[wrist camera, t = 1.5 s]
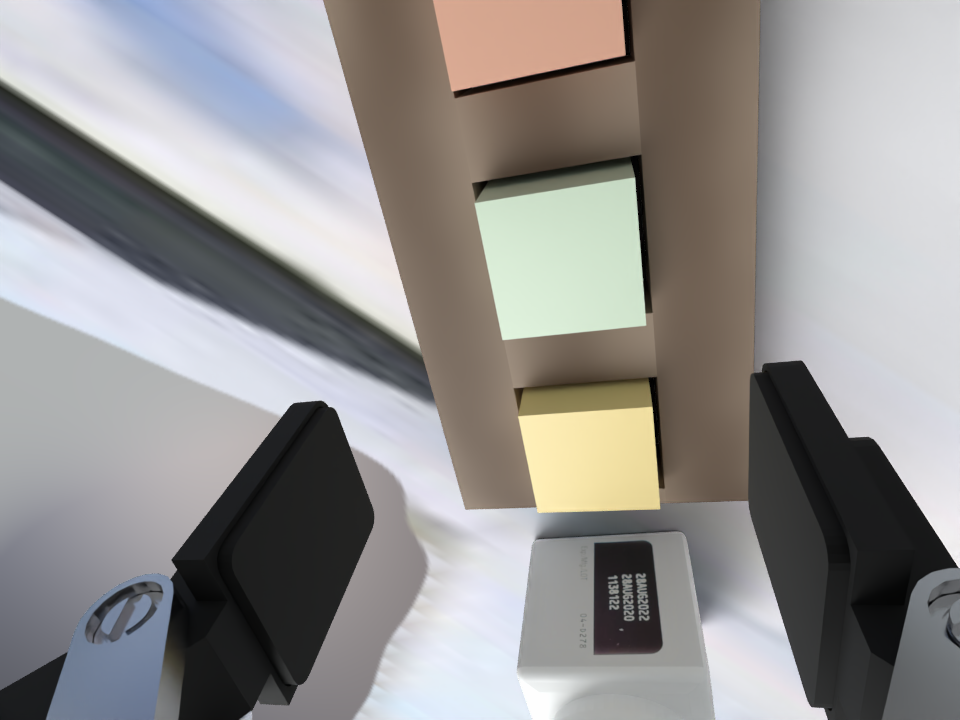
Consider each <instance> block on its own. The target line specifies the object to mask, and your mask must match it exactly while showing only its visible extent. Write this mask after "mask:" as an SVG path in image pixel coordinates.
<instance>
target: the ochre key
mask: <svg viewBox="0 0 960 720" xmlns="http://www.w3.org/2000/svg"><path fill="white" fill-rule="evenodd" d="M518 418H519V423H520V428H521V433H522V438H523V443H524V448H525V452H526V457H527V462H528V467H529V472H530V477H531V482H532V487H533V492H534V496H535V501H536V506H537V511H538V513H550V512H584V511H618V510H652V509H660V498H659V485H658V472H657V459H656V446H655V433H654V420H653V407H652V400H651V393H650V386H649V379H648V377H647V378H634V379H622V380H610V381H597V382H585V383H573V384H560V385H548V386H536V387H524V388H523V394H522V399H521V404H520V409H519V414H518Z"/></svg>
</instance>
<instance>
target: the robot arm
mask: <svg viewBox="0 0 960 720" xmlns="http://www.w3.org/2000/svg"><path fill="white" fill-rule="evenodd" d="M748 501H749V509H750V515H751V518H752V522H753V525H754V528H755V532H756V535H757V538H758V541H759V545H760V548H761V551H762V554H763V558H764V561H765V564H766V567H767V571H768V574H769V577H770V580H771V584H772V587H773V590H774V593H775V597H776V600H777V603H778V606H779V610H780V613H781V616H782V619H783V623H784V626H785V629H786V632H787V636H788V639H789V642H790V645H791V649H792V652H793V655H794V658H795V662H796V665H797V668H798V671H799V675H800V678H801V681H802V684H803V688H804V691H805V694H806V697H807V700H808V702H809V704H810V706H811V707H817V708H824V709H825V712H826V715H827V718H828V720H960V568H958V566H957V565H956V563H955V562H954V560H953V559H952V557H951V555H950V554H949V552H948V551H947V549H946V548H945V546H944V545H943V543H942V542H941V540H940V539H939V537H938V536H937V534H936V533H935V531H934V529H933V528H932V526H931V525H930V523H929V522H928V520H927V519H926V517H925V516H924V514H923V513H922V511H921V510H920V508H919V506H918V505H917V503H916V502H915V500H914V499H913V497H912V496H911V494H910V493H909V491H908V490H907V488H906V487H905V485H904V483H903V482H902V480H901V479H900V477H899V476H898V474H897V473H896V471H895V470H894V468H893V467H892V465H891V464H890V462H889V460H888V459H887V457H886V456H885V454H884V453H883V451H882V450H881V448H880V447H879V445H878V444H877V443H876V442H875V441H874V439H872V438H869V437H858V438H848V436H847V434H846V433H845V431H844V429H843V428H842V426H841V424H840V423H839V421H838V419H837V418H836V416H835V414H834V412H833V411H832V409H831V407H830V406H829V404H828V402H827V401H826V399H825V397H824V396H823V394H822V392H821V391H820V389H819V387H818V386H817V384H816V382H815V380H814V379H813V377H812V375H811V374H810V372H809V370H808V369H807V367H806V365H805V364H804V363H803V361H789V362H777V363H765V364H764V365H763V368H762V373H752V374H751V376H750V400H749V470H748ZM373 524H374V511H373V507H372V504H371V502H370V499H369V497H368V494H367V491H366V489H365V486H364V483H363V481H362V478H361V476H360V473H359V470H358V467H357V465H356V462H355V459H354V457H353V454H352V451H351V449H350V446H349V443H348V441H347V438H346V436H345V433H344V430H343V428H342V425H341V422H340V420H339V417H338V414H337V412H336V410H335V409H334V408H332V407H328V405H327V404H326V403H325V402H323V401H312V402H300V403H294V404H292V405H291V406H290V407H289V409H288V410H287V411H286V412H285V414H284V415H283V416H282V418H281V419H280V420H279V421H278V423H277V424H276V426H275V427H274V428H273V429H272V431H271V432H270V433H269V434H268V436H267V437H266V438H265V440H264V441H263V442H262V444H261V445H260V446H259V447H258V449H257V450H256V451H255V453H254V454H253V455H252V456H251V458H250V459H249V460H248V462H247V463H246V464H245V465H244V467H243V468H242V469H241V471H240V472H239V473H238V475H237V476H236V477H235V478H234V480H233V481H232V482H231V484H230V485H229V486H228V487H227V489H226V490H225V491H224V493H223V494H222V495H221V497H220V498H219V499H218V500H217V502H216V503H215V504H214V505H213V507H212V508H211V509H210V511H209V512H208V513H207V515H206V516H205V517H204V518H203V520H202V521H201V522H200V524H199V525H198V526H197V527H196V529H195V530H194V531H193V533H192V534H191V535H190V537H189V538H188V539H187V540H186V542H185V543H184V544H183V546H182V547H181V548H180V549H179V551H178V552H177V553H176V555H175V556H174V557H173V559H172V562H173V563H174V565H175V567H176V568H177V571H176V573H175V574H174V576H173V577H172V578H171V579H169V578H168V577H167V576H164V575H161V574H145V575H142V576H138V577H135V578H132V579H130V580H128V581H126V582H124V583H122V584H119V585H118V586H116V587H115V588H113V589H112V590H110V591H109V592H107V593H106V594H104V595H103V596H102V597H101V598H100V599H98V600H97V601H96V602H95V603H94V604H93V605H92V606H91V607H90V608H89V609H88V610H87V612H86V613H85V614H84V615H83V617H82V618H81V619H80V621H79V623H78V625H77V628H76V629H75V631H74V635H73V638H72V641H71V644H70V648H69V650H68V652H67V653H65V654H63V655H62V656H60V657H58V658H57V659H55V660H53V661H51V662H49V663H48V664H46V665H44V666H42V667H41V668H39V669H37V670H35V671H34V672H32V673H30V674H29V675H27V676H25V677H23V678H22V679H20V680H18V681H16V682H14V683H13V684H11V685H9V686H7V687H6V688H4V689H2V690H0V720H252V712H251V711H252V710H253V708H254V706H255V704H256V702H257V700H259V702H260V704H271V705H272V704H273V705H289V704H290V702H291V700H292V698H293V695H294V693H295V691H296V689H297V686H298V685H301V684H303V683H304V682H305V681H306V680H307V678H308V676H309V674H310V672H311V670H312V667H313V665H314V662H315V660H316V658H317V655H318V653H319V651H320V649H321V646H322V644H323V641H324V639H325V637H326V635H327V632H328V630H329V628H330V625H331V623H332V621H333V619H334V616H335V614H336V612H337V609H338V607H339V605H340V602H341V600H342V598H343V595H344V593H345V591H346V588H347V586H348V584H349V582H350V579H351V577H352V575H353V572H354V570H355V568H356V565H357V563H358V561H359V558H360V556H361V554H362V551H363V549H364V547H365V544H366V542H367V540H368V538H369V535H370V533H371V530H372V528H373Z"/></svg>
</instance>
